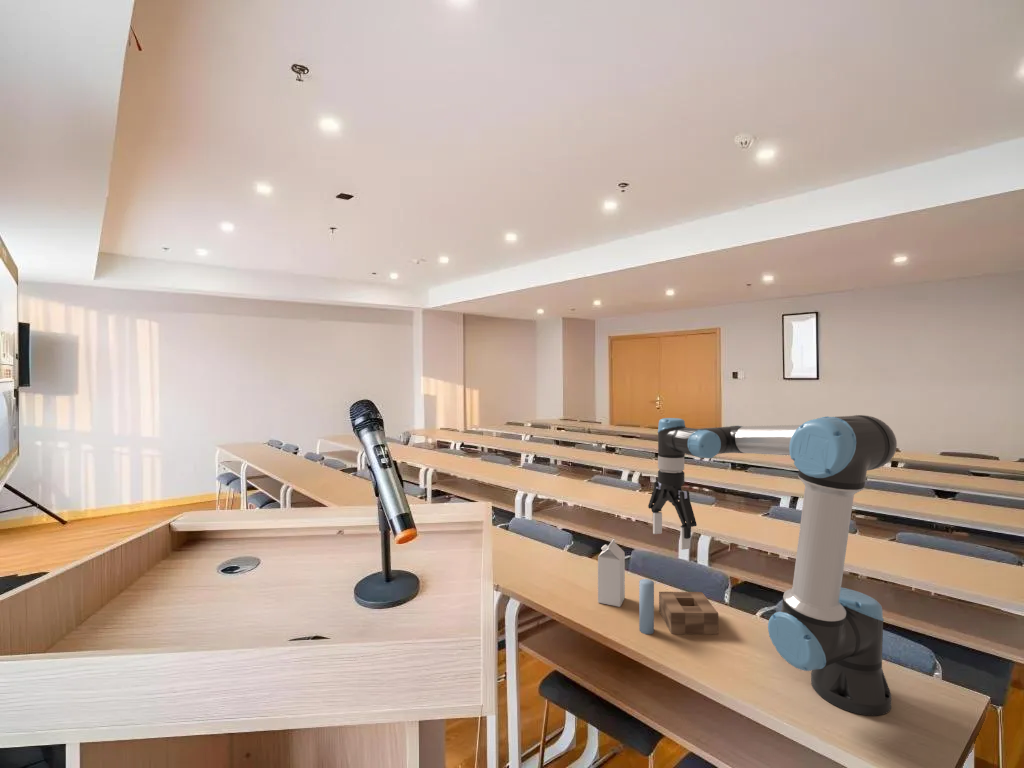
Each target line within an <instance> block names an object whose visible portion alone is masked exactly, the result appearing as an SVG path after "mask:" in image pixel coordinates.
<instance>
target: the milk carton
mask: <svg viewBox="0 0 1024 768" xmlns="http://www.w3.org/2000/svg"><path fill="white" fill-rule="evenodd" d="M600 549H601V550H602V551H601V552H600V554H599V555H598V556H597V603H598V604H604V605H609V606H613V607H618V608H619V607H621V606H622V604H623V602H624V600H625V597H626V595H625V594H626V590H625V589H626V583H625V582H626V579H625V578H626V575H625V574H626V571H625V569H626V564H625V563H626V562H625V561H626V559H625V558H626V557H625V556H626V555H625V551H624V550H623V549H622V548H621V547H620V546H619V545H618V544H616V542H615V538H613V539H612V540H611V541H610V543H609V544H604V545H602V547H601V548H600Z"/></svg>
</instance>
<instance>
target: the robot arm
mask: <svg viewBox="0 0 1024 768" xmlns="http://www.w3.org/2000/svg"><path fill="white" fill-rule="evenodd" d="M897 446H898V443H897V437H896V434H895V433H894V431H893V429H892V428H891V427H890V426H889V425H888V423H886V422H884V421H883V420H881V419H879V418H877V417H874V416H870V415H865V414H860V415H859V414H858V415H857V414H856V415H845V416H844V415H843V416H822V417H818V418H814V419H810V420H808V421H805V422H803V423H802V424H791V425H790V424H789V425H786V424H785V425H782V424H781V425H743V426H742V425H730V426H721V427H720V426H719V427H704V428H694V427H693V428H692V427H687V426H686V422H685V420H684V419H683V418H679V417H663V418H661V419H659V420H658V429H657V453H658V455H657V468H658V471H657V481H655V482H654V484H653V490H652V493H651V497H650V499H649V503H648V505H647V508H648V509H649V510H650V509H651V512H652V534H653V535H658V534H662V533H663V512H662V509H663V507H664V506H665V504H666V503H667V502H669V503H670V504H671V505H672V506H673V507H674V508H675V511H676V513H677V516H678V518H679V520H680V522H681V525H680V530H679V531H680V534H679V535H680V538H679V539H680V542H679V543H680V545H679V547H680V550H683V551H684V550H688V549H689V550H690V549H691V538H692V528H693V527H697V521H696V517H695V514H694V509H693V507H692V503H691V497H690V492H689V490H685V491H684V490H683V489H682V486H683V485H684V484H685V472H684V470H685V456H686V455H689V456H693V457H697V458H700V459H703V458H704V459H713V458H714V457H715V456H717V455H721V454H755V455H756V454H758V455H760V454H761V455H780V456H781V455H782V456H783V455H784V456H790V459H791V460H792V461H793V465H794V466H795V468H796V469H797V470H798V475H797V477H798V479H799V480H800V481H801V482H802V483H803V484H804V492H803V500H802V509H801V517H800V525H799V532H798V539H797V540H798V541H797V547H796V548H797V549H796V556H795V557H796V558H795V564H794V573H793V581H792V587H791V588H788V589H786V590H785V591H784V593H783V596H782V603H781V610H780V611H777V612H775V613H773V614H772V615H771V616H770V618H769V620H768V623H767V630H768V635H769V637H770V640H771V643H772V645H773V646H774V647H775V649H776V651H777V653H778V654H779V655H780V656H781V657H782V658H783V660H785V662H787V663H788V664H789V665H791V666H792V667H794V668H796V669H797V670H800V671H804V672H806V671H807V672H809V671H811V673H810V674H811V676H810V682H811V683H810V684H811V686H812V688H813V691H815V692H816V693H817V695H819V696H820V698H822V699H824V700H825V701H826V702H828V703H829V704H832V705H833V706H836V707H838V708H840V709H842V710H845V711H847V712H850V713H854V714H859V715H862V716H872V717H873V716H881V715H886V714H887V713H889V712H890V711H891V709H892V693H891V691H890V688H889V684H888V682H887V680H886V676H885V673H884V671H883V670H884V669H883V639H884V638H883V635H884V632H883V630H884V621H885V619H884V616H883V607H882V604H880V602H878V601H877V599H875V598H873V597H872V596H870V595H868V594H865V593H864V592H860V591H857V590H854V589H851V588H846V587H842V583H843V577H844V576H843V575H844V569H845V568H844V567H845V562H846V561H845V560H846V553H847V546H848V540H849V532H850V525H851V519H852V512H853V504H854V497H855V495H856V494H858V493H859V492H861V491H863V490H864V489H865V486H866V477H867V473H868V471H872V470H876V469H879V468H881V467H884V466H886V465H887V464H888V463H889V462H890V461H891V460H892V459H893V458H894V456H895V454H896V451H897Z"/></svg>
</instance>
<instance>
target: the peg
mask: <svg viewBox="0 0 1024 768" xmlns="http://www.w3.org/2000/svg"><path fill="white" fill-rule="evenodd" d="M638 586H639V588H638V589H639V593H638V594H639V596H638V598H639V600H638V601H639V602H638V603H639V604H638V605H639V606H638V608H639V609H638V610H639V611H638V612H639V614H638V615H639V619H638V620H639V621H638V622H639V623H638V624H639V625H638V626H639V632H640V633H641V634H644V635H652V634H654V633H655V582H654V580H653V579H649V578H648V579H647V578H642V579H639V585H638Z"/></svg>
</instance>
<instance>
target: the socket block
mask: <svg viewBox="0 0 1024 768" xmlns="http://www.w3.org/2000/svg"><path fill="white" fill-rule="evenodd" d="M658 594H659V596H658V602H659V603H658V612H659V613H660V615H661V617H662V619H663V621H664V623H665V625H666V627H667V628H668V631H669V632H670V634H672V635H674V634H676V635H681V634H682V635H683V634H684V635H719V613H718V610H717V609H716V608H715V606H713V604H712V603H711V602H710V600H709V599H708V598H707V597H706V596H705V594H704V593H703V591H659V592H658Z"/></svg>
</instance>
